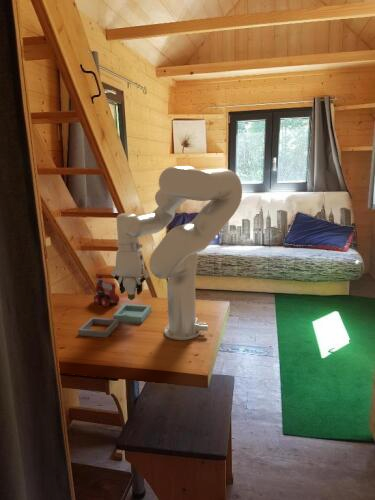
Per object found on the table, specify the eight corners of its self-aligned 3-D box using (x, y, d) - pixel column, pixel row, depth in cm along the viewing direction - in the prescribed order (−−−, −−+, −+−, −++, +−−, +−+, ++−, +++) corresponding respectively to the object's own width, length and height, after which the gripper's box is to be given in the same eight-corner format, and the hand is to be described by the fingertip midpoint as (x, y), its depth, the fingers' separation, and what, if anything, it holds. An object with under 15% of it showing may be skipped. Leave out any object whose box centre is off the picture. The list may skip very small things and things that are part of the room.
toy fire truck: (104, 297, 166) (102, 275, 163) (122, 304, 158) (120, 280, 155) (91, 302, 161) (89, 279, 158) (108, 309, 153) (106, 285, 150)
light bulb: (124, 303, 140) (123, 278, 138) (122, 298, 146) (121, 273, 144) (140, 301, 142) (139, 276, 140) (138, 296, 148) (136, 271, 145)
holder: (118, 324, 139) (118, 319, 138) (106, 337, 129) (106, 332, 128) (92, 322, 141) (91, 317, 141) (78, 335, 131) (78, 329, 131)
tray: (151, 311, 150) (151, 305, 149) (142, 323, 139) (141, 317, 138) (124, 309, 152) (124, 304, 151) (113, 321, 141) (113, 315, 141)
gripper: (154, 245, 141) (155, 290, 145) (110, 243, 144) (113, 288, 149) (147, 250, 133) (149, 298, 138) (102, 248, 137) (105, 294, 142)
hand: (131, 292), depth 143 cm, fingers closed on light bulb, 5 cm apart
